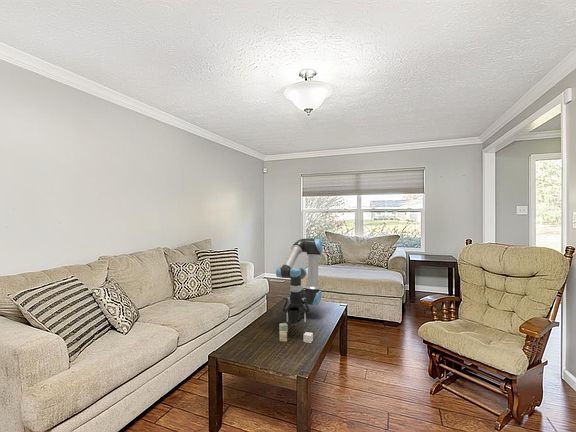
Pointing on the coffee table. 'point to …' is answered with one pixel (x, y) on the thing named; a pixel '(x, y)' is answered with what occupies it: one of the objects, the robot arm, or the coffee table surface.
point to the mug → (294, 314)
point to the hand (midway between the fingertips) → (296, 321)
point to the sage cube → (283, 327)
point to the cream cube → (308, 337)
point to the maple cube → (283, 336)
